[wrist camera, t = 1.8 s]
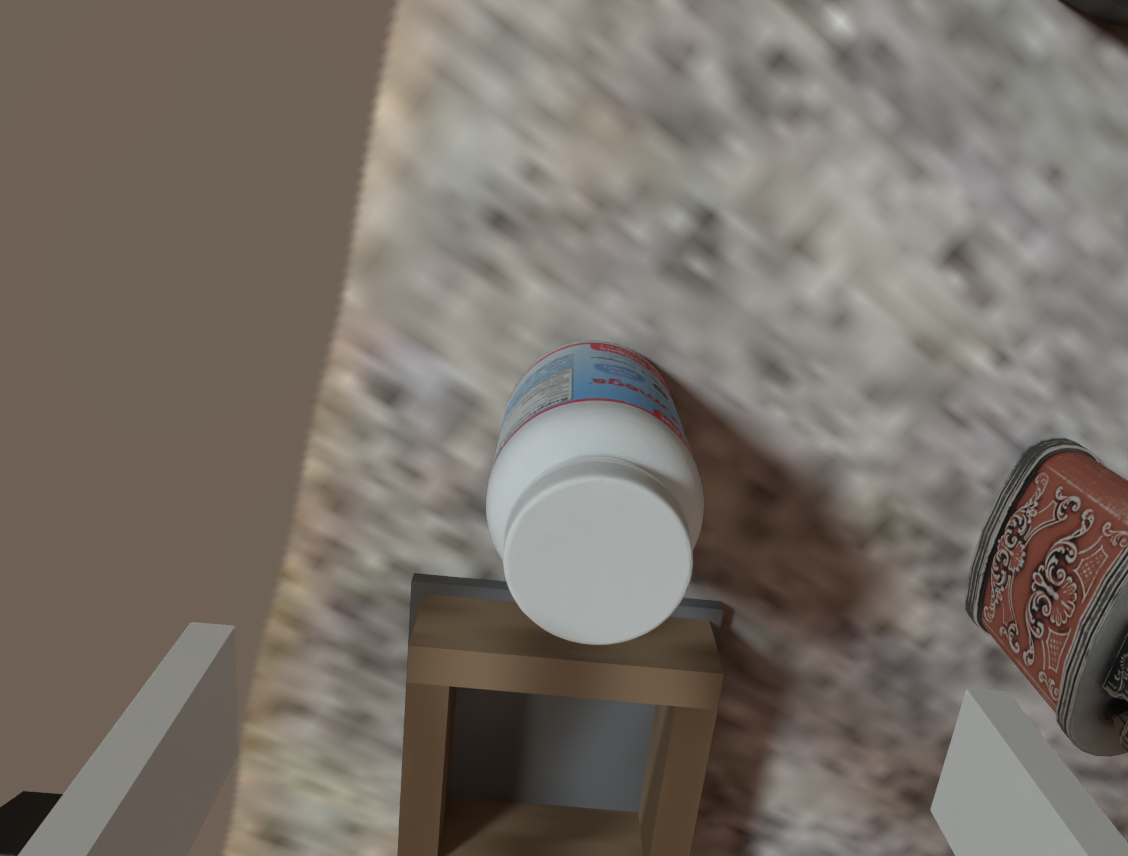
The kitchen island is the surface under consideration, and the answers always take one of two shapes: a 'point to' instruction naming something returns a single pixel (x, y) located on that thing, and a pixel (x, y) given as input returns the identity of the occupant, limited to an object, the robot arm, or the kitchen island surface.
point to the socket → (551, 730)
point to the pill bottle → (594, 495)
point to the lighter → (1061, 587)
